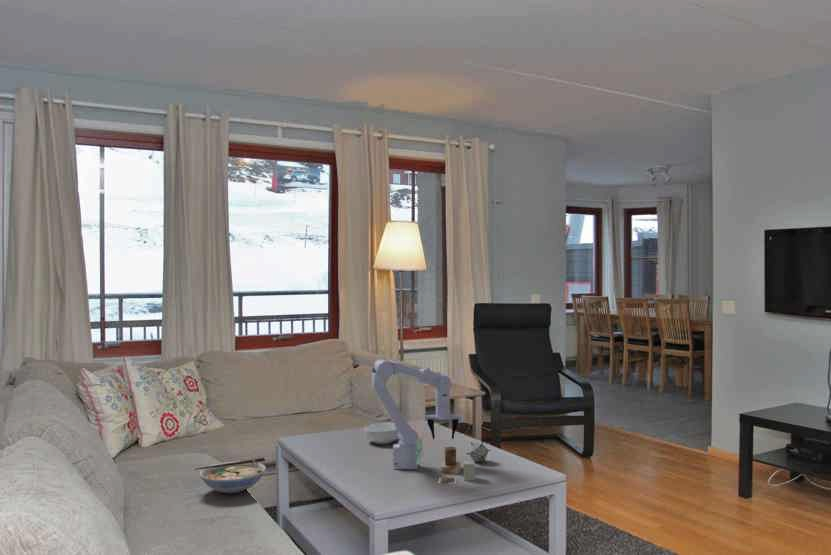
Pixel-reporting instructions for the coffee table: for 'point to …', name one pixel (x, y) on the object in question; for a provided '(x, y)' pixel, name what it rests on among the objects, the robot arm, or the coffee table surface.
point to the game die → (478, 452)
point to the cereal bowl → (381, 433)
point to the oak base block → (450, 468)
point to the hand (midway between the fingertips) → (443, 438)
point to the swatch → (447, 480)
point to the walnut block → (450, 456)
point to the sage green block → (469, 470)
